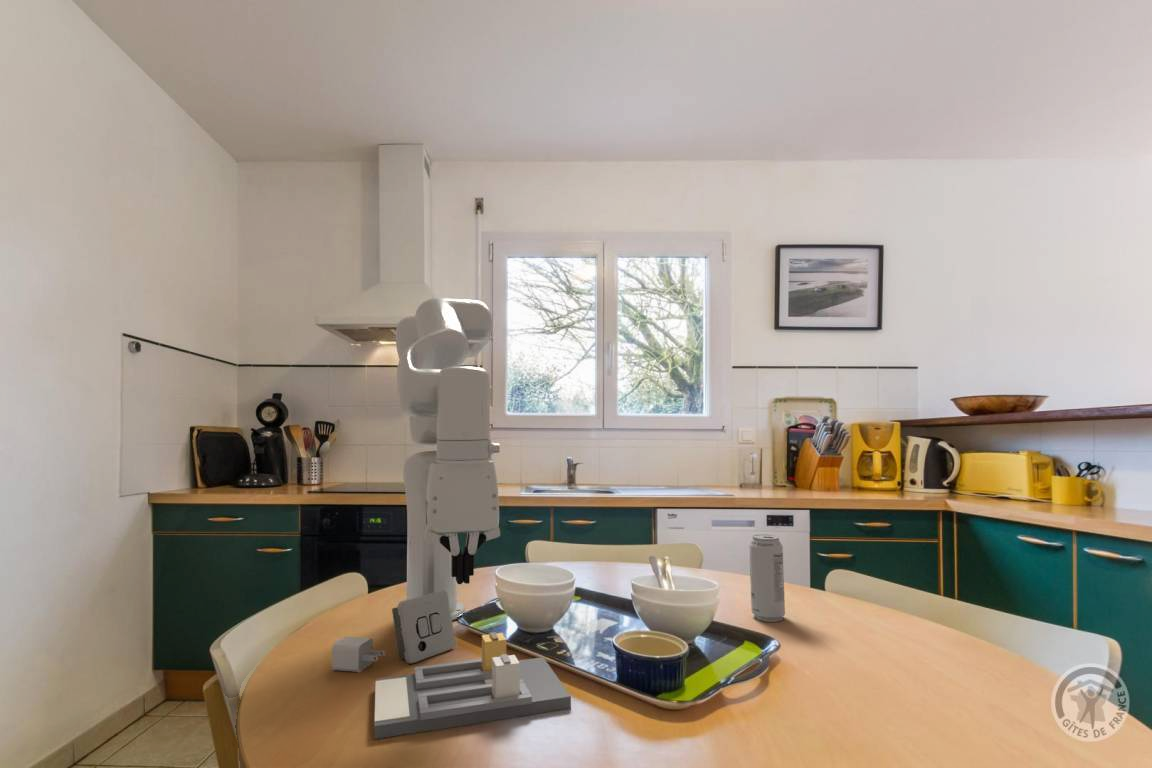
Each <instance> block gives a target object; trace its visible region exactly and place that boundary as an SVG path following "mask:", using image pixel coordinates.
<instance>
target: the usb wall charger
mask: <svg viewBox="0 0 1152 768" xmlns="http://www.w3.org/2000/svg"><path fill="white" fill-rule="evenodd" d="M373 643H374V641H373V638H371V637H357V636H356V637H354V636H344V637H342V638H340V639H339V640H337V641H335V642H334V643H333V644H332V649H331V653H332V654H331V669H332V670H333V671H338V672H339V671H340V672H350V671H352V672H354V673H361V672H362V671H363V669H364V668H365V669H367V668H368V667H369V666H371V665H372V663H373V662H378V657H386V656H385V653H386V651H383V650H375V649H373V648H374V647H373V646H374V645H373ZM375 658H376V659H375ZM370 664H371V665H370ZM368 665H369V666H368ZM367 666H368V667H367ZM365 669H364V670H365ZM361 670H362V671H361ZM360 671H361V672H360ZM352 672H351V673H352Z"/></svg>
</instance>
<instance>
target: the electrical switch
mask: <svg viewBox="0 0 1152 768" xmlns="http://www.w3.org/2000/svg"><path fill="white" fill-rule="evenodd" d="M391 612H392V618H393V624H394V631H395V638H396V645H397V651H398V657H399V659H400V660H401V659H402V660H403V659H405V662H406V663H407V664H408V665H411V664H414V663H417V662H420V661H424V660H425V659H428V658H431V657H433V656H436V655H439V654H441V653H444V652H446V651H450V650H453V649H454V648H456V644H457V641H456V635H455V630H454V625H453V624H454V623H453V620H452V617H451V612H450V606H449V600H448V594H447V592H446V591H438V592H434V593H431V594H427V595H423V596H420V597H416V598H412V599H409V600H407V599H405V600H401V601H400V602H398V604H397V607H393V608H392V609H391Z"/></svg>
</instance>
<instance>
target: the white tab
mask: <svg viewBox="0 0 1152 768" xmlns="http://www.w3.org/2000/svg"><path fill="white" fill-rule="evenodd" d="M508 655H509V654H507V653H506V654H502V655H501V657H493V658H492V694H493V696H494V699H495V698H502V697H509V696H516V695H520V663H519V661H518V660H519V659H518V658H517V656H516V655H515V654H511V655H509V656H508Z"/></svg>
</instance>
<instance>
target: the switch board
mask: <svg viewBox="0 0 1152 768" xmlns="http://www.w3.org/2000/svg"><path fill="white" fill-rule="evenodd" d="M507 655H508V656H509V654H507ZM517 660H518V661H519V663H520V695H516V696H509V697H502V698H495V699H494V696H493V694H492V670H489V671H483V669H482V658H477V659H469V660H463V661H462V660H461V661H454V662H447V663H446V662H445V663H438V664H430V665H424V666H423V665H422V666H414V673H412V674H411V673H410V674H404V675H403V674H402V675H395V676H388V677H387V676H386V677H381V678H375V690H374V691H375V693H374V696H375V697H374V725H373V726H374V729H373V730H374V731H373V734H374V735H373V736H374V737H373V739H374V740H378V739H377V738H380V739H384V738H383V737H387V738H391V737H390V736H393V737H397V736H396V735H399V736H402V735H401V734H406V735H410V734H409V733H412V734H417V732H418V733H424V732H423V731H425V732H430V730H431V731H436V730H442V729H449V728H450V729H451V728H455V727H463V726H470V725H474V724H480V723H481V724H482V723H487V722H492V721H499V720H505V719H512V718H518V717H525V716H531V715H535V714H536V715H538V714H544V713H549V712H556V711H562V710H568V709H571V708H572V697H571V694H570V693H569V692H568V690H567V689H566V687H565V686H564V685H563V683H562V682H561V680H560V679H559V677H558V676H557V674H556V673H555V672H554V669H552V667H551V666H550V664H549V663H548V662H547V660H546V658H545V657H544V656H543V657H534V658H529V659H528V658H526V659H520V660H519V659H517Z"/></svg>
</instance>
